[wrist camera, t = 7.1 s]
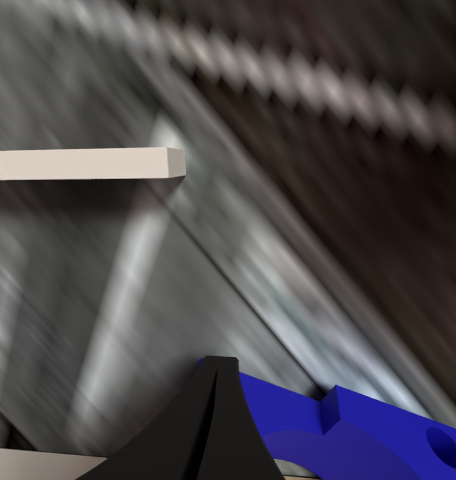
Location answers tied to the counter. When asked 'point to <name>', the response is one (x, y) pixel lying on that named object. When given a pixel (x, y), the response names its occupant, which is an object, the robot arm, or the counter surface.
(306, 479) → the board
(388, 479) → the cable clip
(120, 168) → the cream square rimmed piece
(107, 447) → the counter surface
